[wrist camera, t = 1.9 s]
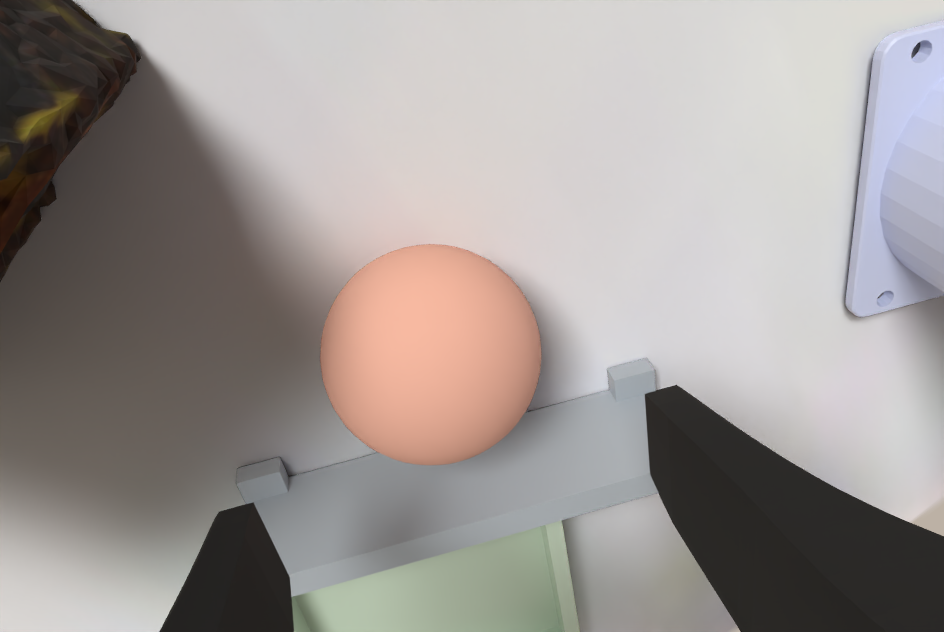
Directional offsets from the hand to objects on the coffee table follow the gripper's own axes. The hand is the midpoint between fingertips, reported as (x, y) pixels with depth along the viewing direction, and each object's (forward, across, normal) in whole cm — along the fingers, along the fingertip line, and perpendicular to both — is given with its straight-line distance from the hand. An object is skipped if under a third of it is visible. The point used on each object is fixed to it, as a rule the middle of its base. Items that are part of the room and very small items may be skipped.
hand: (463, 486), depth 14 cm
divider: (+7, 0, +5) cm, 8 cm away
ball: (+4, 0, 0) cm, 4 cm away
